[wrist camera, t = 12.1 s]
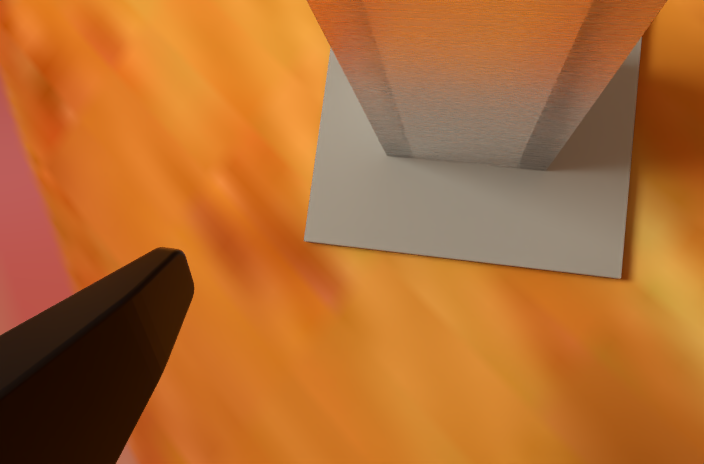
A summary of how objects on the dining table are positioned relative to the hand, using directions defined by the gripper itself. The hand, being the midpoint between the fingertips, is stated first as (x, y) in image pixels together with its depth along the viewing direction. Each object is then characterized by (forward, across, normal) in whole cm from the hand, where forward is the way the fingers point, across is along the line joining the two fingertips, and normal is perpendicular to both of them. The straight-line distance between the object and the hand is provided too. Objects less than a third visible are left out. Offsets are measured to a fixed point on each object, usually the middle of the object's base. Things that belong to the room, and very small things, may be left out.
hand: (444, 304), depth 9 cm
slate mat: (+13, 0, +3) cm, 13 cm away
